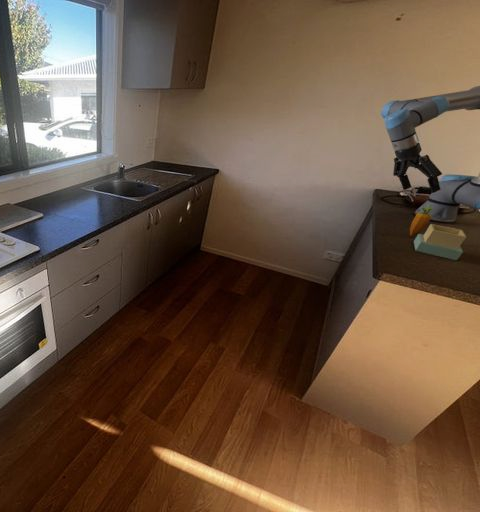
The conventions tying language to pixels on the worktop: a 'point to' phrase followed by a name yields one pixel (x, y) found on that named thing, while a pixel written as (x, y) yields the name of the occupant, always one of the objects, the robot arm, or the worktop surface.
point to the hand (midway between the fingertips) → (421, 189)
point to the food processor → (440, 242)
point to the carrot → (420, 221)
